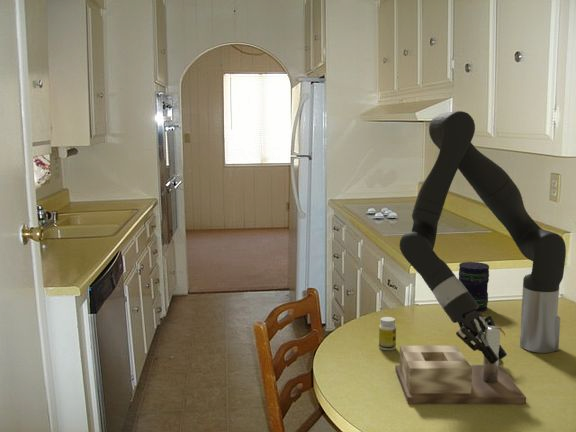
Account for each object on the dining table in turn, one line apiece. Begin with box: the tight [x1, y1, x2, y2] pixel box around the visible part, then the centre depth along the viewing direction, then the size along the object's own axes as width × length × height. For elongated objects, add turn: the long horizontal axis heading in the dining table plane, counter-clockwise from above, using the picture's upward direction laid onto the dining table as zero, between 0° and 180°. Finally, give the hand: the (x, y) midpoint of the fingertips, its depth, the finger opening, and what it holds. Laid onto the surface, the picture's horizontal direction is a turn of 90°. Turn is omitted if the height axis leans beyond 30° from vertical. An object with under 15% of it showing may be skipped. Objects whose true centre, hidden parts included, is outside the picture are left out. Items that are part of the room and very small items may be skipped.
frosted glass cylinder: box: [483, 326, 501, 383], centre depth 140 cm, size 3×3×13 cm
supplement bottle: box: [378, 316, 397, 351], centre depth 166 cm, size 5×5×8 cm
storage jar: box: [458, 261, 490, 313], centre depth 201 cm, size 10×10×15 cm
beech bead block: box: [399, 345, 472, 393], centre depth 141 cm, size 14×14×6 cm
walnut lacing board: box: [394, 364, 527, 405], centre depth 142 cm, size 26×18×2 cm
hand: (499, 359), depth 139 cm, fingers closed on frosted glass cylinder, 3 cm apart
